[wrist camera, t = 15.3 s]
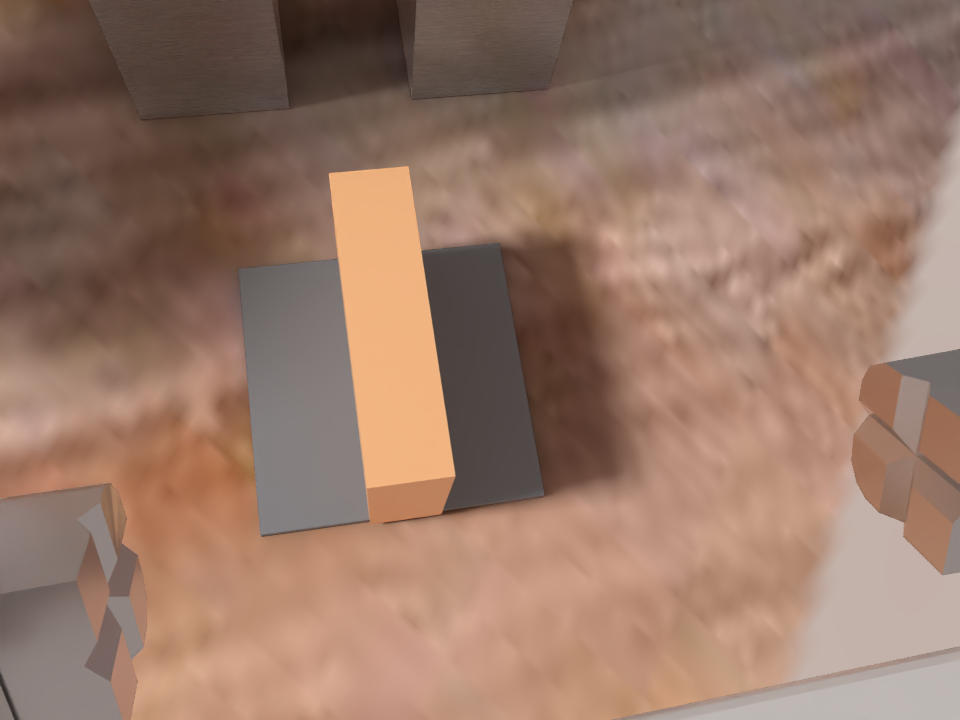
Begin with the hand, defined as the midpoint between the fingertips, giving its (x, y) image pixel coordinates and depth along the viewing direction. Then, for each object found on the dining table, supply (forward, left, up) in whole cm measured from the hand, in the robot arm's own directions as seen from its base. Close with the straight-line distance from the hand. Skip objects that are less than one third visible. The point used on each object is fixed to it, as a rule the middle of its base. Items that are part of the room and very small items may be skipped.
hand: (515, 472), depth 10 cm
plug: (+7, +8, -29) cm, 31 cm away
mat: (+7, +8, -29) cm, 31 cm away
